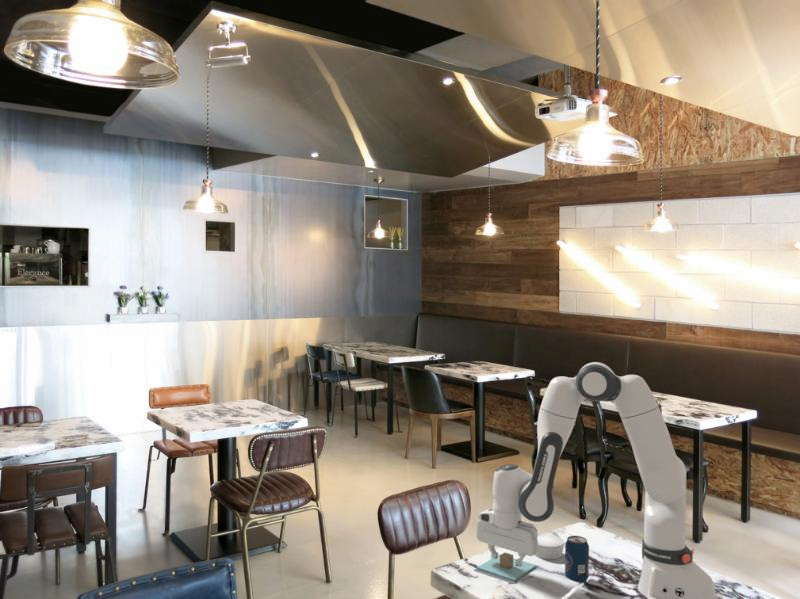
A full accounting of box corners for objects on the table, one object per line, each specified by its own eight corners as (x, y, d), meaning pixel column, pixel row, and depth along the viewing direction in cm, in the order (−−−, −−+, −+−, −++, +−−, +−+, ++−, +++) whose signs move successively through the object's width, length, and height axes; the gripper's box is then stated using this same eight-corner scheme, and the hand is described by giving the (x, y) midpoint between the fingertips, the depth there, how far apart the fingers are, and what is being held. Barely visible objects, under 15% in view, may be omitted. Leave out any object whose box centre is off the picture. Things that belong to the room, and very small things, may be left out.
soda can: (561, 574, 198) (561, 535, 198) (583, 573, 199) (583, 534, 198) (570, 584, 191) (570, 544, 191) (592, 583, 192) (592, 543, 192)
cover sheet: (535, 567, 201) (535, 554, 201) (514, 581, 191) (514, 567, 191) (499, 556, 209) (499, 543, 209) (477, 569, 199) (477, 556, 199)
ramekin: (529, 547, 219) (529, 532, 218) (563, 550, 216) (563, 534, 216) (529, 561, 208) (529, 544, 208) (565, 564, 205) (565, 547, 205)
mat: (539, 568, 202) (539, 566, 202) (513, 586, 189) (513, 583, 189) (500, 556, 211) (500, 554, 211) (473, 572, 198) (473, 570, 198)
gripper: (542, 522, 196) (541, 568, 196) (484, 508, 209) (484, 550, 209) (532, 528, 191) (531, 575, 191) (473, 513, 204) (473, 556, 204)
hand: (506, 562), depth 200 cm, fingers open, 7 cm apart
